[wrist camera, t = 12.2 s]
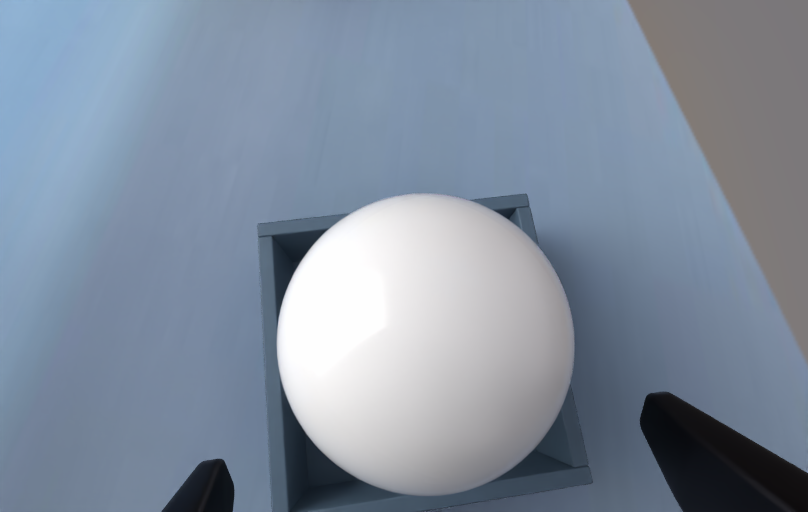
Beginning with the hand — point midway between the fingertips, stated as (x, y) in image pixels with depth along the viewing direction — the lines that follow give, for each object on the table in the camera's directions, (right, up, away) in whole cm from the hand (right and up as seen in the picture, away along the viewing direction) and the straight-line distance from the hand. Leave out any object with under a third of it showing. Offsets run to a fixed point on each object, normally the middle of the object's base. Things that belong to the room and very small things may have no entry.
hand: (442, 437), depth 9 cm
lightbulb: (-1, 0, +8) cm, 8 cm away
